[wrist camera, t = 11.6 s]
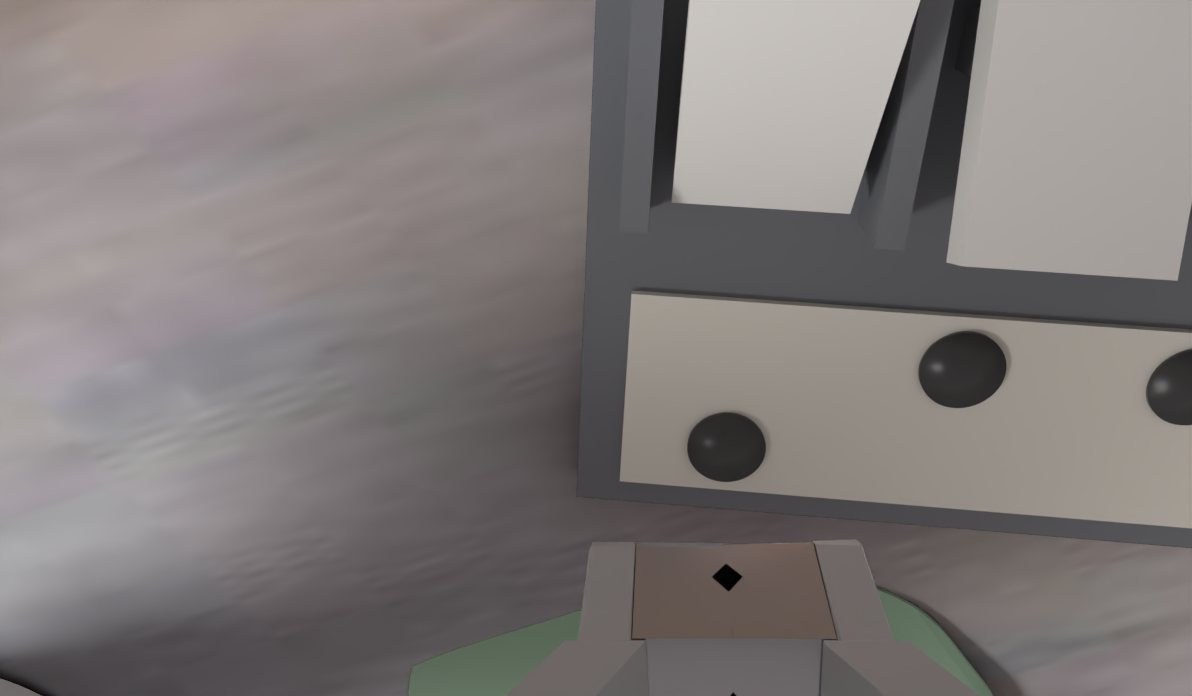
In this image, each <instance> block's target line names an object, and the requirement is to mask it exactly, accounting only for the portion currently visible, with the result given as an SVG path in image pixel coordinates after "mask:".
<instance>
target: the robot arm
mask: <svg viewBox="0 0 1192 696" xmlns="http://www.w3.org/2000/svg"><path fill="white" fill-rule="evenodd" d="M0 696H41V695H39V694H37V693H35V692H33V691H31V690H29V689H26V688H24V687H22V686H19V685H17V684H14V683H12V682H9V681H6V680H3V679H0ZM506 696H980V695H978V694H977V693H976V692H974V691H973V690H972V689H970V688H969V687H968V686H967V685H965V684H964V683H963V682H961V681H960V680H959V679H957V678H956V677H955V676H953V675H952V674H951V673H950V672H948V671H947V670H946V669H944V668H943V667H942V666H940V665H939V664H938V663H936V662H935V661H934V660H933V659H931V658H930V657H929V656H927V655H926V654H925V653H923V652H922V651H921V650H919V649H918V648H917V647H916V646H914V645H913V644H912V643H910V642H909V641H894V639H893V636H892V633H891V630H890V627H889V624H888V621H887V618H886V615H885V612H884V609H883V606H882V603H881V600H880V597H879V594H878V591H877V588H876V585H875V582H874V579H873V576H872V573H871V570H870V567H869V564H868V561H867V558H866V555H865V552H864V549H863V546H862V544H861V543H860V542H859V541H858V540H857V539H849V540H822V541H812V542H807V543H731V544H724V543H700V542H637V545H636V543H634V542H593V543H592V545H591V547H590V549H589V556H588V564H587V571H586V579H585V587H584V595H583V603H582V610H581V618H580V626H579V634H578V640H565V641H563V642H562V643H561V644H560V645H559V646H558V647H557V648H556V649H555V650H554V651H553V652H552V653H551V654H550V655H549V656H548V657H547V658H545V659H544V660H543V661H542V662H541V663H540V664H539V665H538V666H537V667H536V668H535V669H534V670H533V671H532V672H531V673H530V674H528V675H527V676H526V677H525V678H524V679H523V680H522V681H521V682H520V683H519V684H518V685H517V686H516V687H515V688H514V689H513V690H512V691H510V692H509V693H508V694H507V695H506Z"/></svg>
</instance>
